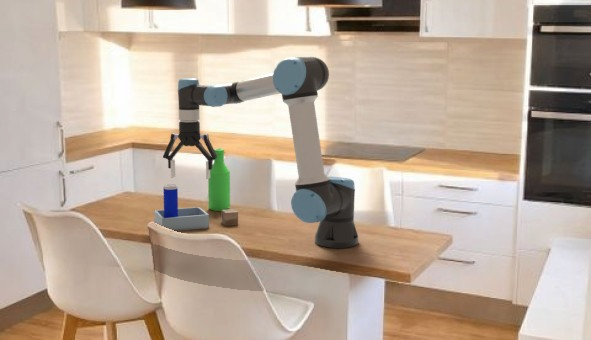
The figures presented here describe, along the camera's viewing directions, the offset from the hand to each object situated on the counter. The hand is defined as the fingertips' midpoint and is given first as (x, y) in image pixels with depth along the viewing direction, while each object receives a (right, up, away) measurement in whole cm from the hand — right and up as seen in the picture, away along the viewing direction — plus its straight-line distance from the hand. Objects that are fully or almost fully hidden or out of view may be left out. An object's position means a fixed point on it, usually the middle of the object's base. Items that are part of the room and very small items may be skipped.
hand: (190, 177), depth 278 cm
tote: (-4, -18, +3) cm, 19 cm away
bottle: (+8, -13, +30) cm, 34 cm away
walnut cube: (+14, -18, +7) cm, 24 cm away
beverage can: (-7, -18, +2) cm, 19 cm away
